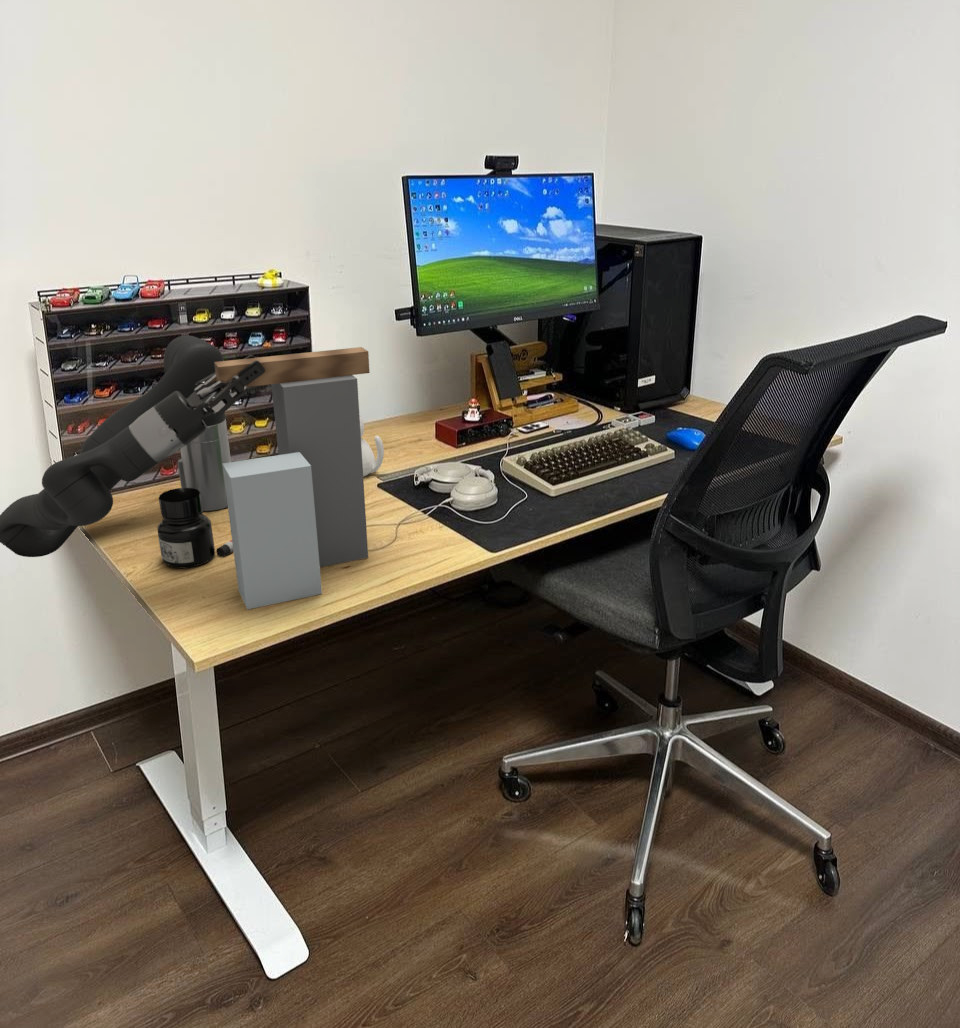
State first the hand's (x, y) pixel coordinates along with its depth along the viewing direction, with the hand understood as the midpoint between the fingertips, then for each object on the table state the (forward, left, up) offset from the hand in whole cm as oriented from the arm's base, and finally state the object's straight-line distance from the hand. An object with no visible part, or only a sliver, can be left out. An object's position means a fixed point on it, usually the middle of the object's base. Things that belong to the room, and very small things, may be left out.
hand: (258, 362), depth 140 cm
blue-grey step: (+5, -10, -35) cm, 37 cm away
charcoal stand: (+7, +6, -35) cm, 36 cm away
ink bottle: (-16, -2, -36) cm, 39 cm away
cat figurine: (-4, +44, -35) cm, 57 cm away
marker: (-10, +7, -36) cm, 38 cm away
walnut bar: (+4, +4, -3) cm, 6 cm away
